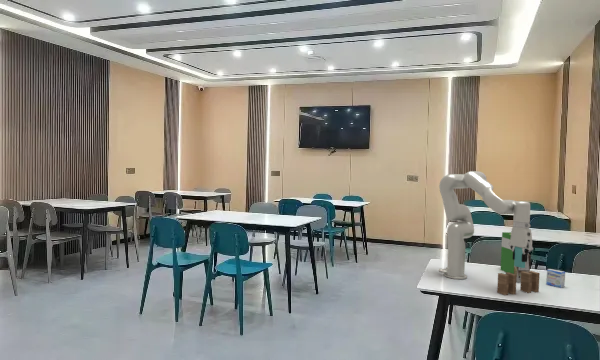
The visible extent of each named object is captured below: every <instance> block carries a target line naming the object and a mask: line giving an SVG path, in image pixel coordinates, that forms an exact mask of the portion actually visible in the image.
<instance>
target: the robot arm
mask: <svg viewBox="0 0 600 360" xmlns="http://www.w3.org/2000/svg"><path fill="white" fill-rule="evenodd" d="M438 187H439V192H440V196H441V199H442V203H443V207H444V213H445V216H446V218H447V220H449V221H452V222H453V221H454V222H453V223H450V224H449V225H448V227H447V230H446V235H447V265H446V266H447V267H445V268H438V272H439V273H442V274H443V273H444V274H443V275H444V277H446V278H449V279H455V280H466V279H467V278H468V275H467V274H465V265H466V243H465V239H469V238H471V237H472V236H474V233H475V226H474V220H473V218H472V213H471V210H470V208H469V207H468V206H467V205H466V204H462V203H461V204H460V202H459V200H458V199H459V198H458V195H457V193H456V192H455V190H454V189H469V188H470V189H471V190H473V191H474V192H475V193H476V194H478V195H479V196H480V197H481V198H482V200H483V202H484V204H485V205H486V206H487V207H488V208H489V209H491V210H492V211H493V212H494V213H496V214H498V215H513V223H512V226H513V227H512V226H511V227H512V228H511V238H510V242H509V243H508V245H509V246H510V248H511V249H512V252H513V260H514V259H515V247H519V248H522V251H523V254H522V262H527V254H529V255H530V253H531V252H532V251H533V250H534V248H533V235H532V233H533V232H532V230H531V224H530V222H531V219H530V218H531V203H530V201H521V200H520V201H519V200H518V201H517V200H513V199H502V198H500V197H499V196H497V195H496V194H495V192H494V185H493V184H492V183H491V182H489V181H488V179H487V176H486V174H485V173H484V172H482V171H479V170H477V171H475V170H470V171H467V172H466V173H461V174H460V173H458V174H457V173H451V174H446V175H444V176H443V177H442V178H441V180H440V182H439V186H438ZM455 221H457V222H455ZM525 249H526V251H525Z"/></svg>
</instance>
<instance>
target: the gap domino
mask: <svg viewBox="0 0 600 360" xmlns="http://www.w3.org/2000/svg"><path fill="white" fill-rule="evenodd" d="M525 251H526V249H525ZM522 254H523V251H522V248H519V247H515V259H514V266H516V267H520V268H525V262H522Z"/></svg>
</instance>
